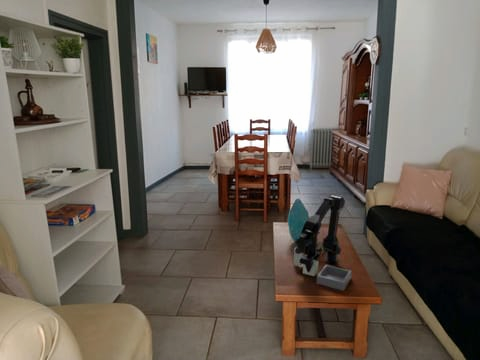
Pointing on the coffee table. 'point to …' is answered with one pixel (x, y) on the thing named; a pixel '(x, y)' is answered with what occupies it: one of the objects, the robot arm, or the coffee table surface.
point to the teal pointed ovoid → (297, 219)
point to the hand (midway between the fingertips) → (310, 269)
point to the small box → (297, 258)
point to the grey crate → (334, 277)
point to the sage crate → (313, 269)
